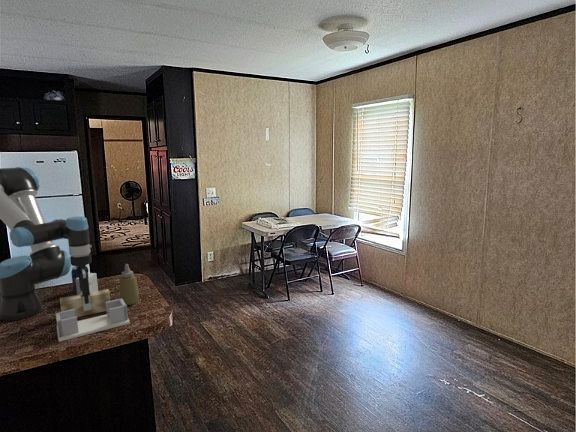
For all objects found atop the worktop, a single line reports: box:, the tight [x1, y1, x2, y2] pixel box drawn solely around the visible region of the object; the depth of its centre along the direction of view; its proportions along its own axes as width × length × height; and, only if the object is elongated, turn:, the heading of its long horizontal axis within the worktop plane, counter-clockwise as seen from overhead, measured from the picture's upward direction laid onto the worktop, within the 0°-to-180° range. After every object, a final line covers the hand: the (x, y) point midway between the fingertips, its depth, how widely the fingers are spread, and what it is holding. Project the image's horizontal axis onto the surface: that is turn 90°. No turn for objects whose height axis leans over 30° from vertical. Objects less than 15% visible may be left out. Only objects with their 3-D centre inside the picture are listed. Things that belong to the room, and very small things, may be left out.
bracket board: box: [55, 298, 131, 343], centre depth 141 cm, size 24×12×7 cm, turn 125°
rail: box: [59, 288, 111, 318], centre depth 152 cm, size 18×4×8 cm, turn 122°
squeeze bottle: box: [119, 263, 140, 306], centre depth 161 cm, size 8×8×18 cm
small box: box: [75, 272, 99, 295], centre depth 169 cm, size 8×6×10 cm
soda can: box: [70, 266, 78, 294], centre depth 176 cm, size 7×7×12 cm
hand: (86, 307), depth 153 cm, fingers closed on rail, 5 cm apart
